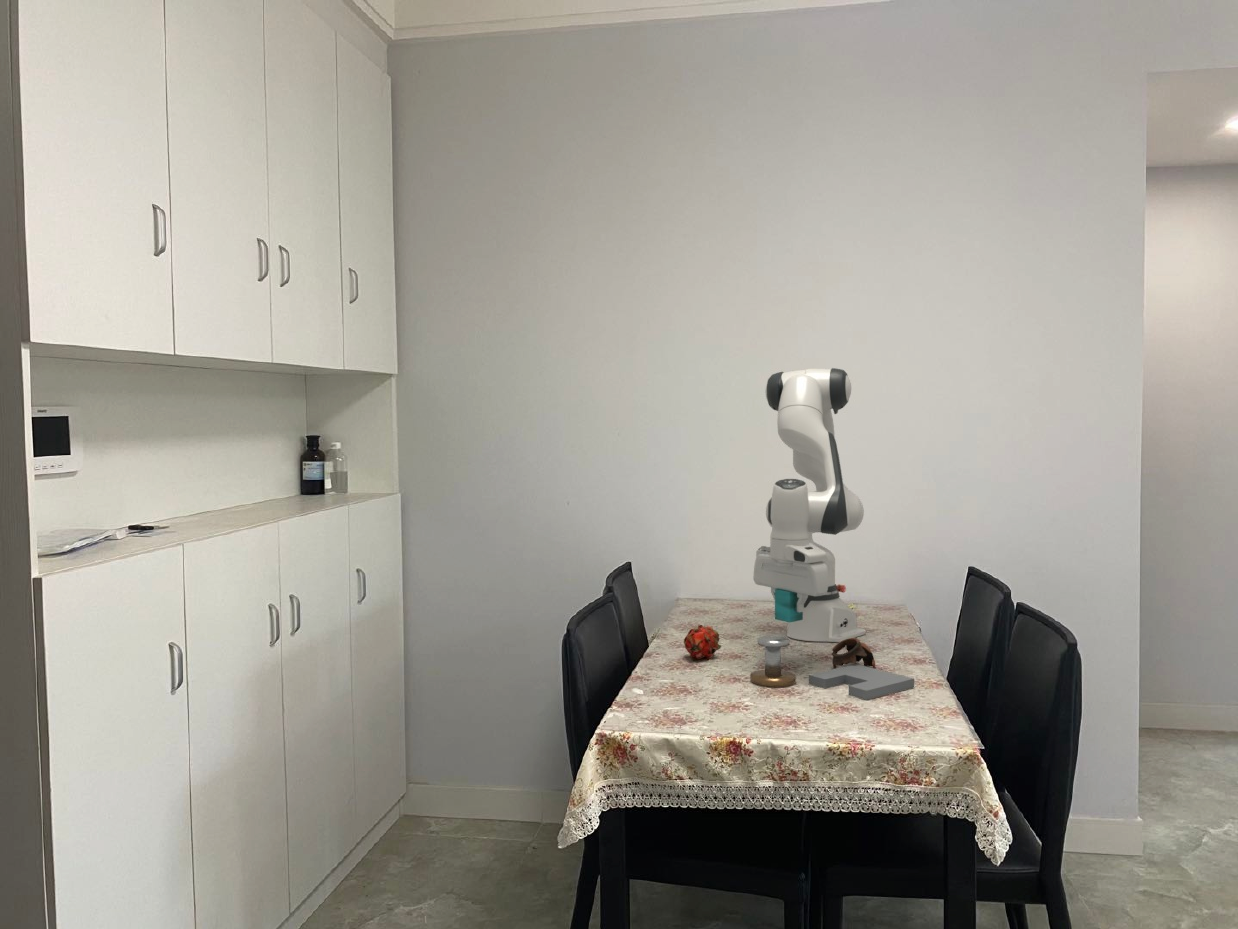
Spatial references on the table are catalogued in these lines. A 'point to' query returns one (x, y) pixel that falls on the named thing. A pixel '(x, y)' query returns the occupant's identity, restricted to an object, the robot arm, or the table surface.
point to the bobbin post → (773, 665)
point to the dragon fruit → (702, 642)
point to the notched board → (862, 681)
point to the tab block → (786, 606)
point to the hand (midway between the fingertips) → (789, 609)
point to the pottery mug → (852, 653)
